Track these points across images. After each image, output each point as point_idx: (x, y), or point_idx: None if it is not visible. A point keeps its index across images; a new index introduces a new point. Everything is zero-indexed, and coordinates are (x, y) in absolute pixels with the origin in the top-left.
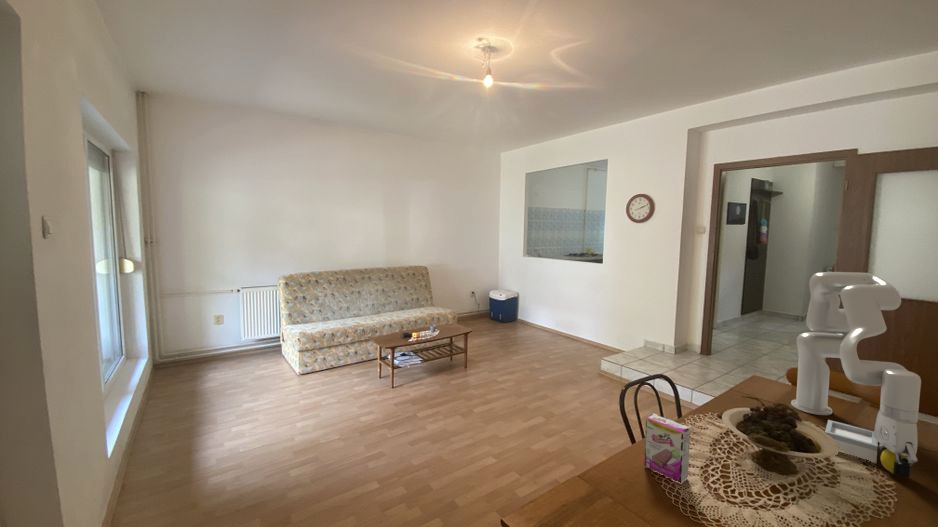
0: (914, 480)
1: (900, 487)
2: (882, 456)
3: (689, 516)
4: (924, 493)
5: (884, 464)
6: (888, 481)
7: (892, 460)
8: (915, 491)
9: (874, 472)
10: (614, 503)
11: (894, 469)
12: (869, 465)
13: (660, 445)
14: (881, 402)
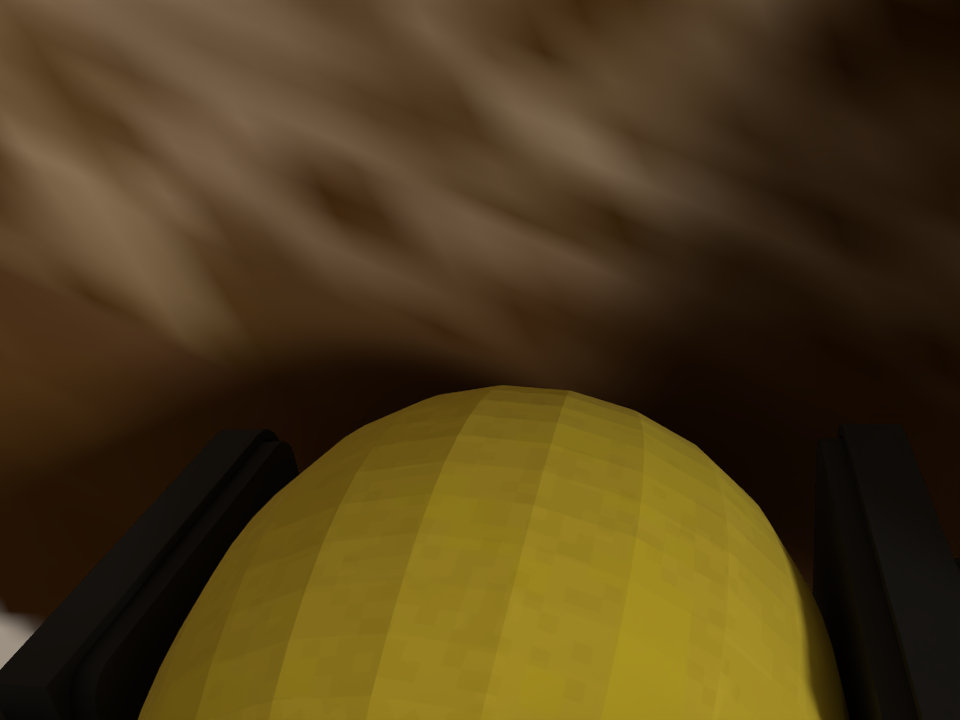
0: None
1: (7, 330)
2: (446, 551)
3: None
4: (47, 593)
5: (406, 414)
6: (127, 216)
7: (152, 691)
8: (24, 501)
9: (436, 88)
10: None
11: (160, 510)
12: (842, 131)
13: None
14: None
